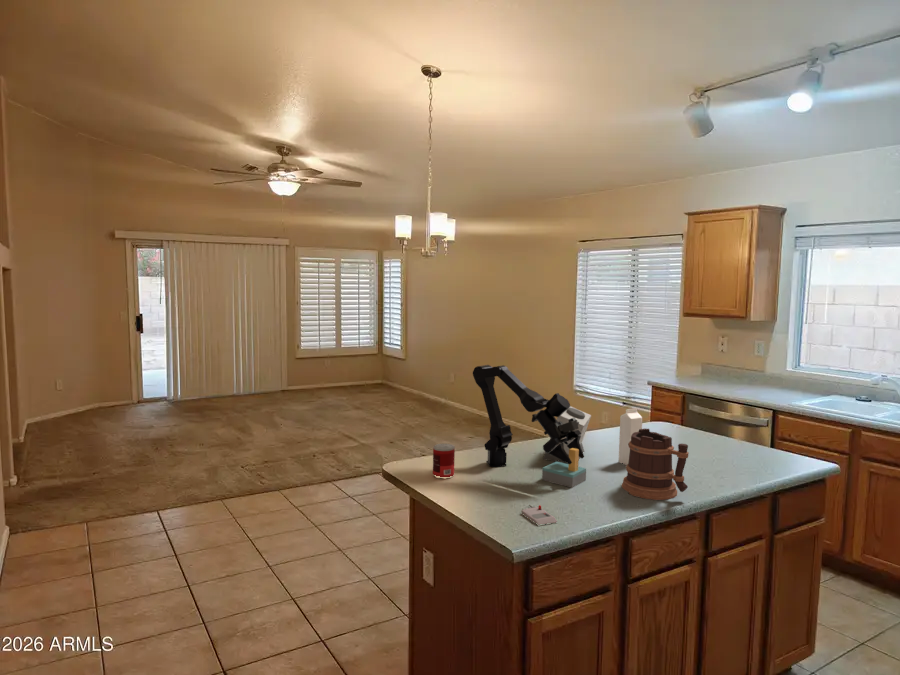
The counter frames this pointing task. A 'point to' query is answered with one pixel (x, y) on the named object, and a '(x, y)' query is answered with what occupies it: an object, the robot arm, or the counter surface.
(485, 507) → the counter surface
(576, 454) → the lid
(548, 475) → the tub
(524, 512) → the electrical control box
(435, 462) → the canned food
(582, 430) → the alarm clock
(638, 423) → the milk
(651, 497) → the mug
